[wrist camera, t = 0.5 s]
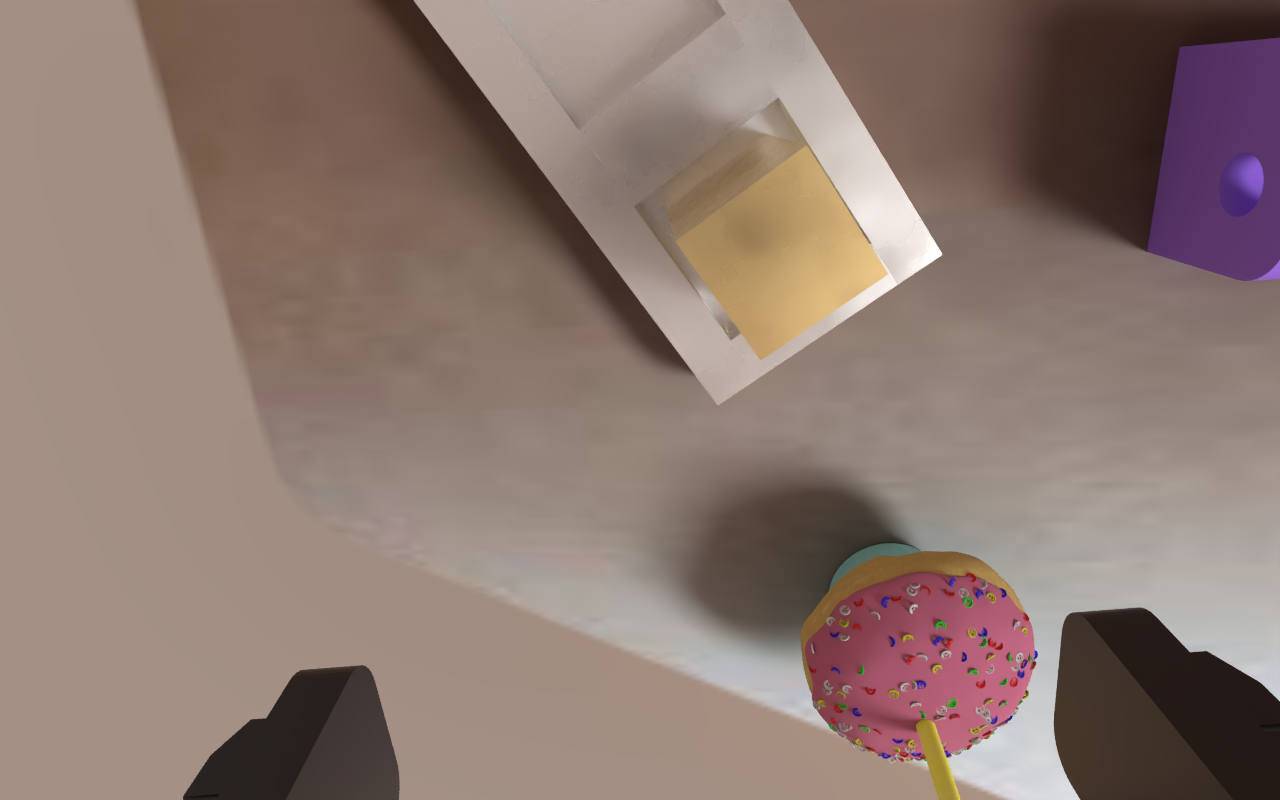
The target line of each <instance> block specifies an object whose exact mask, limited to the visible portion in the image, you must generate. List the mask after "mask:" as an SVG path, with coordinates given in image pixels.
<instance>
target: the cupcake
mask: <svg viewBox="0 0 1280 800" xmlns="http://www.w3.org/2000/svg"><path fill="white" fill-rule="evenodd" d="M801 647H802V657H803V666H804V671H805V675H806V679H807V682H808V685H809V688H810V691H811V693H812V700H813V706H814V708H815V709H816V710H817V711H818V712H819V714H820V715H821V716H822V718H823V719H824V720H825V721H826V722H827V723H828V724H829V727H830V728H831V729H832V730H833V731H835V732H837V733H838V734H839V735H840V736H842V737H844V738H846V739H848V740H849V741H850V743H851V744H852V746H853V747H855V745H854V744H856V745H858V749H859V750H860V751H863V752H864V751H869V752H872V753H877V754H878V756H882V757H883V758H885V759H887V761H888V762H889V763H893V762H896V758H898V759H899V760H900V761H902V762H904V760H903V759H905V760H907V761H912V760H913V759H914V758H915V759H916V760H917V761H922V760H925V761H927V763H928V767H929V770H930V773H931V776H932V779H933V782H934V785H935V789H936V792H937V795H938V798H939V800H961V799H960V796H959V793H958V790H957V787H956V784H955V781H954V778H953V775H952V773H951V770H950V767H949V764H948V761H947V758H951V757H952V755H951V753H953V754H954V755H959V754H961V753H962V751H963V749H964V750H966V749H967V750H969V749H970V747H971V746H972V745H974V744H979V743H980V742H981V740H982V739H988V738H989V737H990V735H991V734H994V731H995V730H996V729H997V728H999V727H1001V726H1004V725H1006V724H1007V723H1008V721H1009V720H1011V719H1012V717H1013V715H1015V714H1016V713H1017V711H1018V710H1019V709H1018V708H1017V706H1018V705H1019V704H1021V703H1022V702H1023V701H1022V699H1025V698H1027V697H1028V695H1029V692H1028V691H1027V690H1026V689H1027V686H1028V684H1029V681H1030V678H1031V675H1032V670H1033V669H1034V668H1035V666H1036V662H1035V659H1036V658H1037V656H1038V653H1037V651H1035V650H1034V636H1033V630H1032V626H1031V623H1030V621H1029V617H1028V616H1027V614H1025V612H1024V610H1023V607H1022V605H1021V603H1020V601H1019V599H1018V598H1017V596H1016V594H1015V592H1014V591H1013V589H1012V588H1011V587H1010V585H1009V584H1008V583H1007V582H1006V581H1005V580H1004V579H1002V578H1001V577H1000V576H999V575H998V574H997V573H996V572H995V571H994V570H993V569H992V568H991V567H989V566H988V565H987V564H986V563H984V562H983V561H981V560H980V559H978V558H976V557H973V556H970V555H967V554H963V553H958V552H933V551H923V552H922V551H920V550H918V549H916V548H914V547H911V546H908V545H904V544H897V543H884V544H878V545H873V546H870V547H867V548H865V549H862V550H860V551H858V552H857V553H855V554H853V555H852V556H851V557H849V558H848V559H847V560H846V561H845V562H844V563H843V564H842V565H841V566H840V567H839V569H838V570H837V571H836V573H835V575H834V577H833V579H832V581H831V584H830V588H829V591H828V593H827V594H826V595H825V596H824V597H823V599H822V600H821V601H820V603H819V604H818V605H817V607H816V608H815V609H814V610H813V612H812V613H811V614H810V616H809V617H808V618H807V619H806V621H805V622H804V624H803V627H802V630H801ZM1034 653H1035V654H1034ZM1034 655H1035V657H1034ZM1025 692H1026V693H1025ZM1025 694H1026V696H1024V695H1025ZM1009 716H1010V717H1009ZM1008 717H1009V718H1008ZM860 747H861V748H863V749H861V748H860ZM966 747H967V748H966ZM864 748H865V749H864ZM890 757H891V758H890ZM889 758H890V760H889ZM910 758H911V759H910ZM918 758H920V759H918ZM891 759H892V761H891Z"/></svg>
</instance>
